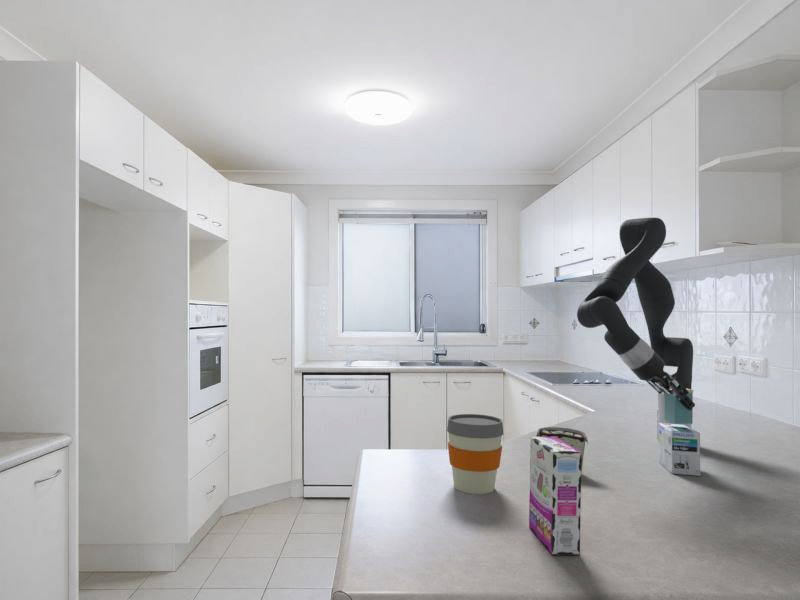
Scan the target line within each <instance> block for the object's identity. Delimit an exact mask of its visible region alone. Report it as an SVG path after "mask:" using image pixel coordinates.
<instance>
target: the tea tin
mask: <svg viewBox="0 0 800 600" xmlns="http://www.w3.org/2000/svg"><path fill="white" fill-rule="evenodd" d="M671 389H672V388H671V387H670V388H669V389H668V390H671ZM686 389H687V388H686ZM687 390H688V392H689V393H688V394H687V396H688V397H689V398H690V399H691V400H692V401H693V400H694V399H693V395H694V394H693V393H694V389H692V388H691V389H687ZM693 402H694V401H693ZM693 408H694V407H693ZM693 408H692V409H691V410H688V409H687V408H686V407H685V406H684V405H683V404H682V403H681V402H680V401H679V400H677V399H676V397H674V396H673V395H672V394H668V393H667V392H666V391H665V417H664V420H667V421H670V422H672V423H683V424H693V414H694V413H693Z"/></svg>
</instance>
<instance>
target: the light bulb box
mask: <svg viewBox="0 0 800 600" xmlns="http://www.w3.org/2000/svg"><path fill="white" fill-rule="evenodd" d="M658 444H659V445H658V446H659V447H658V450H659V451H658V452H659V453H658V458H659V460H658V463H660V464H661V466H663V467H664V468H666V471H667V470H668V472H670V473H671V475H672V474H673V475H686V476H696V477H697V476H698V477H700V476H701V433H700V432H698V431H696V430H695V429H691V428H689V427H687V426H685V425H681V424H667V423H659V442H658Z"/></svg>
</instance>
